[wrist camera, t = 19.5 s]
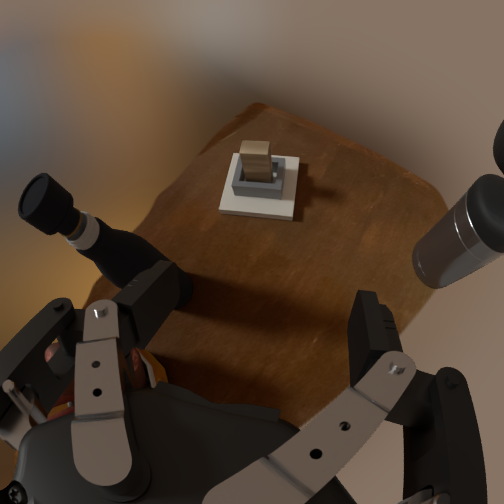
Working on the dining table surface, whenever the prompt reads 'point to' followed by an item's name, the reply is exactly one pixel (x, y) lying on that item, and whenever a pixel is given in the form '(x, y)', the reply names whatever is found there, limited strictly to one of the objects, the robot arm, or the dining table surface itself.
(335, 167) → the dining table surface
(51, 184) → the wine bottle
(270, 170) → the slat
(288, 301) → the dining table surface
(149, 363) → the bucket of meat
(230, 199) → the socket base
